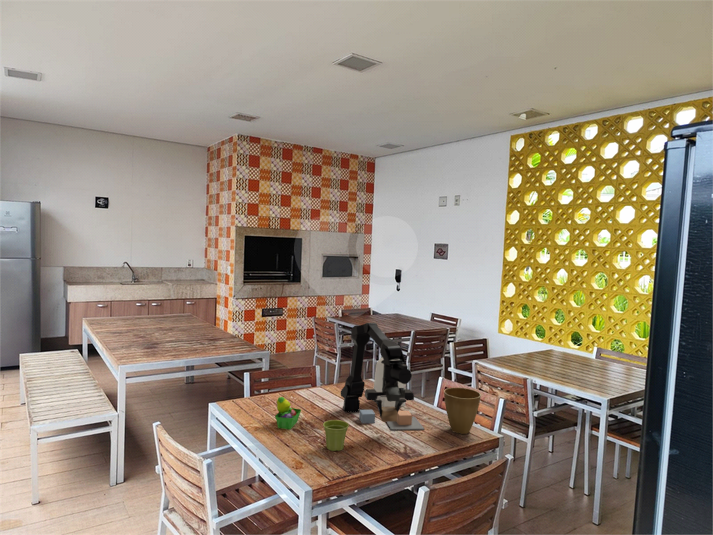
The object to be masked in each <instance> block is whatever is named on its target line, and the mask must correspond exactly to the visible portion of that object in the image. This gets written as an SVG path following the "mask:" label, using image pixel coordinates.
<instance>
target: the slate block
mask: <svg viewBox="0 0 713 535" xmlns="http://www.w3.org/2000/svg"><path fill="white" fill-rule="evenodd" d="M358 413H359V414H358V415H359V416H358V418H359V421H360V422H361V424H375V422H376V413H375V411H374V410H373V409H359V412H358Z"/></svg>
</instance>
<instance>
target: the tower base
mask: <svg viewBox="0 0 713 535" xmlns="http://www.w3.org/2000/svg"><path fill="white" fill-rule="evenodd" d="M386 424H387V426H388V427H390V428H389V429H390V431H425V427H424V426H423V425H422V424H421V422H420V421H419V420H418V419H417V417H416V416H413V415H412V413H411V412H410V411H409V410H399V411H398V413H397V421H393V422H387V423H386Z"/></svg>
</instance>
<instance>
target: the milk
mask: <svg viewBox="0 0 713 535" xmlns="http://www.w3.org/2000/svg"><path fill="white" fill-rule="evenodd" d="M382 360H384V359H383V357H382V356H381V358H379V359H378V360H377V361H376V364H375V372H374V381H373V389H375V390H376V392H382V387H383V369H384V364H383V363H381V361H382ZM398 360H400V359H398ZM391 361H393V360H391ZM403 365H405V364H403ZM406 385H407V384H402V383H400V382H398V387H399V388H405V389H407V387H406ZM381 400H382V407H394V408H395V401H391V402H390V401H388V400H387V397H381ZM405 400H406V399H405ZM372 402H374V400H372ZM406 403H407V400H406V402H404V403H403V404H402V405H401V407H406Z"/></svg>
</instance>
